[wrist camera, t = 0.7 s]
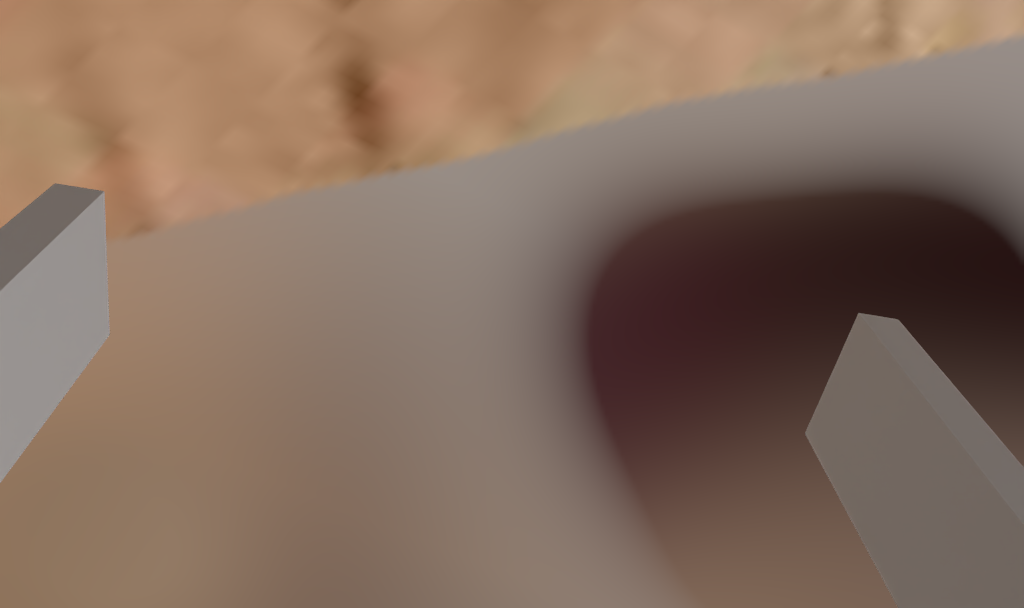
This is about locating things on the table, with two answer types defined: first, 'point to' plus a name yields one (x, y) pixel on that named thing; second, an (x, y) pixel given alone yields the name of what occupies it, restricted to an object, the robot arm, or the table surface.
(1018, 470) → the robot arm
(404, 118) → the table surface
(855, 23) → the table surface
